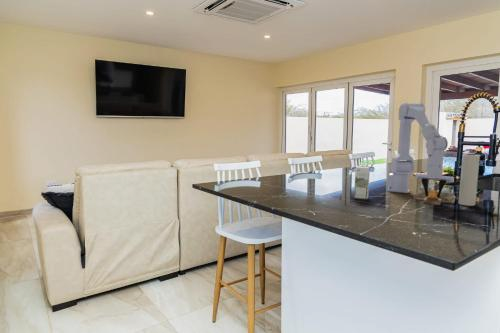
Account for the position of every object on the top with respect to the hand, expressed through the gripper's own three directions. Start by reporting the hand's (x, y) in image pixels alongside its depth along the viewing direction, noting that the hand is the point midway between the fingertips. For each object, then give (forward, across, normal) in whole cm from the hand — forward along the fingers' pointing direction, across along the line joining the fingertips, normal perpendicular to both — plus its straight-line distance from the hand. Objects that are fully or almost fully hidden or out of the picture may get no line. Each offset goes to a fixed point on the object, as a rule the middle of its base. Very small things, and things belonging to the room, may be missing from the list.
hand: (432, 196), depth 148 cm
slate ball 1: (0, -4, +14) cm, 14 cm away
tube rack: (+3, 0, +11) cm, 11 cm away
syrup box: (+3, -28, -8) cm, 29 cm away
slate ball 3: (0, +4, +14) cm, 14 cm away
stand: (+3, 0, 0) cm, 3 cm away
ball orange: (-1, 0, 0) cm, 1 cm away
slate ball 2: (0, +4, +8) cm, 9 cm away
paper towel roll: (+3, +13, +5) cm, 14 cm away
